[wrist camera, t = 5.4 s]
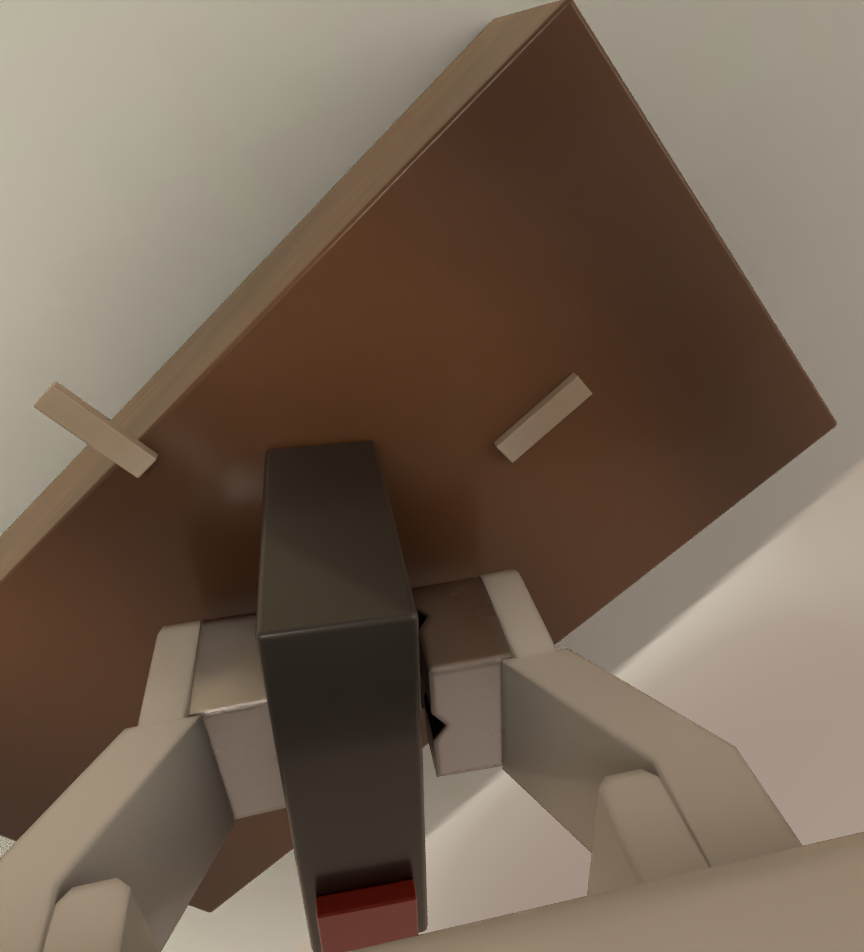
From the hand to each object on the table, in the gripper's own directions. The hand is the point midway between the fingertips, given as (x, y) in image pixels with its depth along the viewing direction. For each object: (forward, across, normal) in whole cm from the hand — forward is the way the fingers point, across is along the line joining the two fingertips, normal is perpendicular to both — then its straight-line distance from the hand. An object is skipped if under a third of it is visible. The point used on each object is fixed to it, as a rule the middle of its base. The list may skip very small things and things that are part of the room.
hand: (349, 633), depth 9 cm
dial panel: (+4, 0, 0) cm, 4 cm away
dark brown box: (+1, 0, 0) cm, 1 cm away
